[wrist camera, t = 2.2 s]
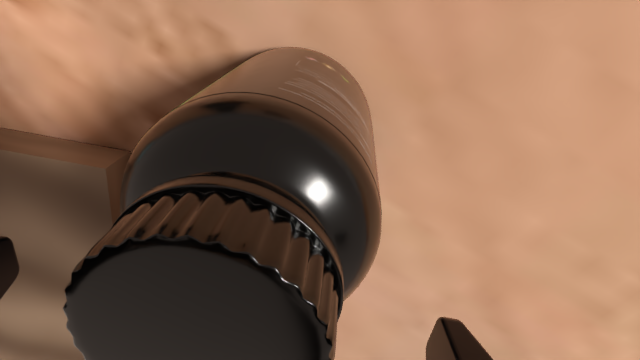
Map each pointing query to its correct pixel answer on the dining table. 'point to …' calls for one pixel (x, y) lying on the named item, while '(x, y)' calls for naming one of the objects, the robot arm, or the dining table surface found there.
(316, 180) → the supplement bottle
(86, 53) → the dining table surface
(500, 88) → the dining table surface
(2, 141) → the walnut board
